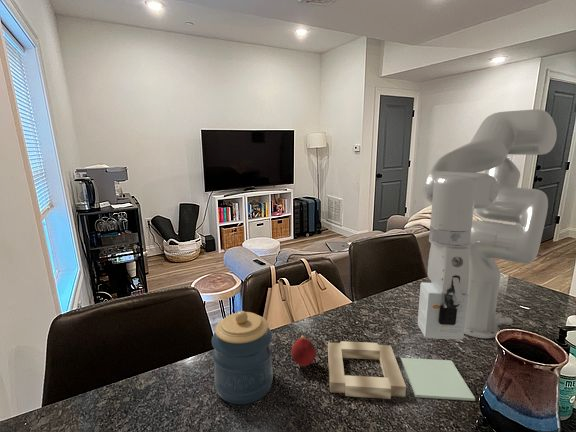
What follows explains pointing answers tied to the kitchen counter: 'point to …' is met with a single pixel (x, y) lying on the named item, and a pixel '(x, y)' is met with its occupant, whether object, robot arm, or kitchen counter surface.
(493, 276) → the robot arm
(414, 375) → the pad
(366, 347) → the wooden square frame
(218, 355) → the canister
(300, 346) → the red round piece
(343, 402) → the kitchen counter surface
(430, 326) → the small box
